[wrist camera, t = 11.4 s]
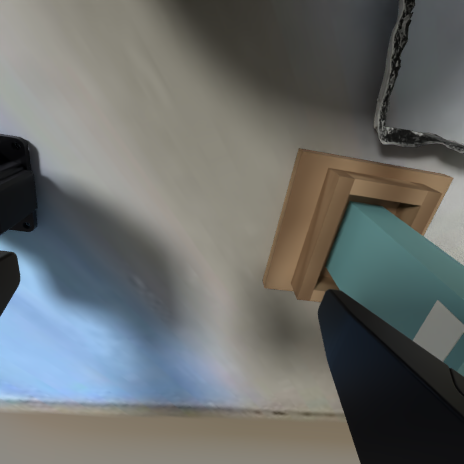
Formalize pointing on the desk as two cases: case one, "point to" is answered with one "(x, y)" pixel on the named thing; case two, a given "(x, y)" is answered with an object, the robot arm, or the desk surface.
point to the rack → (340, 213)
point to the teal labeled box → (401, 279)
